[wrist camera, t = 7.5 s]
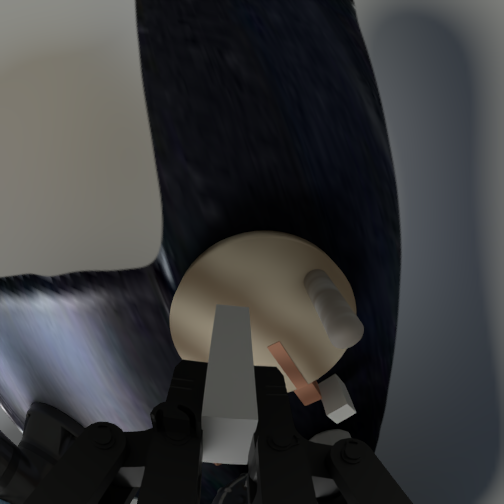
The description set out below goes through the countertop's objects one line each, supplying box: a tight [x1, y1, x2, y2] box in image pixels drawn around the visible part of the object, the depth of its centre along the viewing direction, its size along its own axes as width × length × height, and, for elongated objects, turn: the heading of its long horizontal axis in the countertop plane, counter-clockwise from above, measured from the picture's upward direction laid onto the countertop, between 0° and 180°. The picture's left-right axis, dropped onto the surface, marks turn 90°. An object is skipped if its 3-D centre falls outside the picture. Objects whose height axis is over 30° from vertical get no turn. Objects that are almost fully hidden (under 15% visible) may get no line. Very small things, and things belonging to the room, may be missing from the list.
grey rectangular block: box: [318, 374, 356, 424], centre depth 27 cm, size 2×2×5 cm
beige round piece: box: [170, 231, 364, 406], centre depth 20 cm, size 16×19×10 cm
